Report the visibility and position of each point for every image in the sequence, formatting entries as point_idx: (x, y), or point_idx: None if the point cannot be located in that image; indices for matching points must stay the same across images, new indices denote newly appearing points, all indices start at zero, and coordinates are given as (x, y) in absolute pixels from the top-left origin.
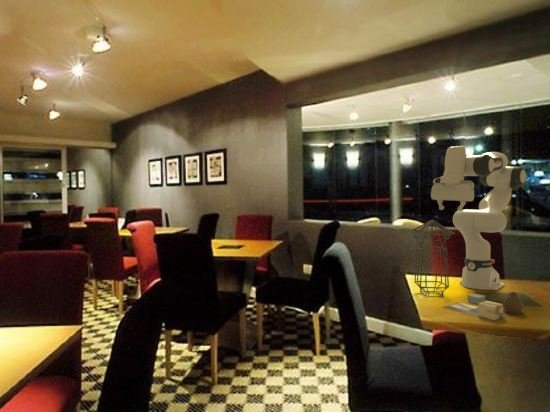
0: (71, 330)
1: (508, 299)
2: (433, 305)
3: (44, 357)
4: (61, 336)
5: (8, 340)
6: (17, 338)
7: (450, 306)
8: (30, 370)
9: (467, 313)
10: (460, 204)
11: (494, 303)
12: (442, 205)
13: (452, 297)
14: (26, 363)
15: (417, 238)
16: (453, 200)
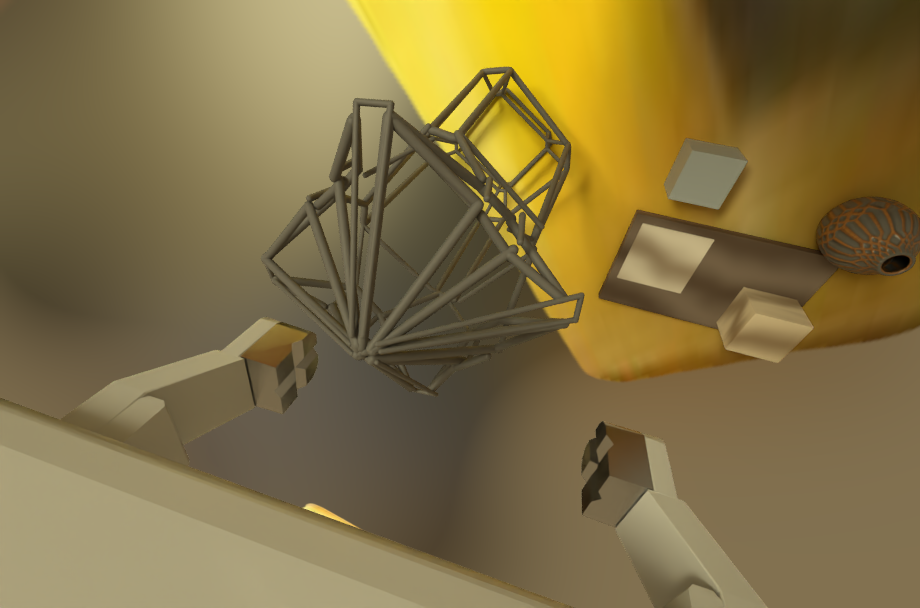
0: (322, 509)
1: (853, 271)
2: (564, 267)
3: None
4: (334, 517)
5: None
6: None
7: (620, 278)
8: None
9: (681, 315)
10: (645, 588)
11: (782, 331)
12: (233, 364)
13: (587, 123)
14: None
15: (378, 318)
16: (401, 551)
